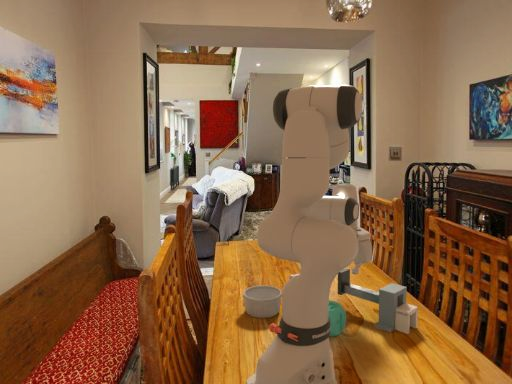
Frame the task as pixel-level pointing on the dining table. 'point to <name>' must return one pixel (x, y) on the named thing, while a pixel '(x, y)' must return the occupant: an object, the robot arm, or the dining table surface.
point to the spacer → (406, 317)
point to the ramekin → (262, 301)
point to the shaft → (355, 288)
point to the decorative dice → (336, 318)
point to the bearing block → (390, 305)
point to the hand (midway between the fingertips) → (343, 270)
